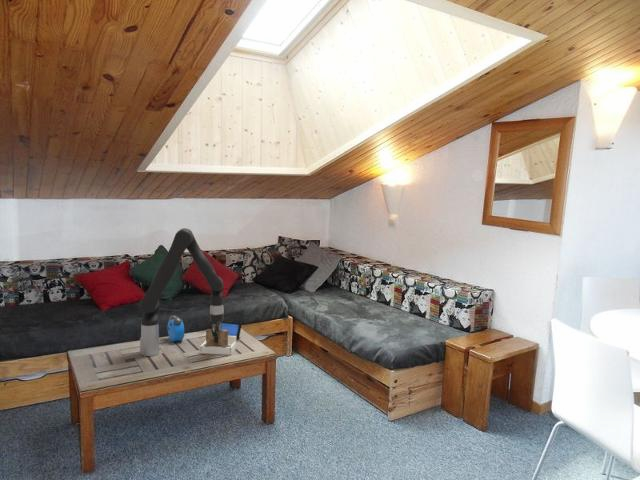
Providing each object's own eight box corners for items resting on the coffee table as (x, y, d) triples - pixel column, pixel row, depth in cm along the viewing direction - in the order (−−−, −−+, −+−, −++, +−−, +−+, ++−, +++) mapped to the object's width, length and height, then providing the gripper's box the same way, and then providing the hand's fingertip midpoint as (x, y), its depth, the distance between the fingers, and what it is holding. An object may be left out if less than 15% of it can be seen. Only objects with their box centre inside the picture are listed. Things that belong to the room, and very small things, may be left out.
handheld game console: (209, 342, 291) (209, 327, 289) (218, 335, 304) (218, 321, 302) (234, 344, 288) (234, 329, 287) (241, 337, 301) (242, 323, 300)
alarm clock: (184, 342, 287) (184, 318, 286) (174, 344, 284) (174, 320, 282) (177, 336, 298) (176, 313, 296) (167, 338, 294) (166, 314, 292)
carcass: (199, 353, 270) (199, 341, 270) (206, 346, 282) (206, 334, 282) (231, 354, 269) (231, 342, 268) (236, 347, 281) (236, 335, 281)
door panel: (206, 347, 272) (206, 330, 270) (207, 346, 274) (207, 329, 273) (226, 348, 271) (226, 331, 270) (228, 346, 273) (228, 329, 272)
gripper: (213, 308, 277) (214, 337, 279) (206, 315, 263) (206, 345, 265) (226, 309, 277) (226, 338, 279) (220, 315, 263) (220, 346, 265)
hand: (217, 341), depth 272 cm, fingers closed on door panel, 2 cm apart
